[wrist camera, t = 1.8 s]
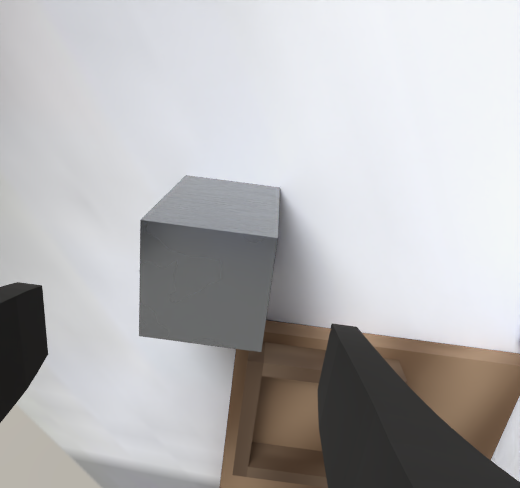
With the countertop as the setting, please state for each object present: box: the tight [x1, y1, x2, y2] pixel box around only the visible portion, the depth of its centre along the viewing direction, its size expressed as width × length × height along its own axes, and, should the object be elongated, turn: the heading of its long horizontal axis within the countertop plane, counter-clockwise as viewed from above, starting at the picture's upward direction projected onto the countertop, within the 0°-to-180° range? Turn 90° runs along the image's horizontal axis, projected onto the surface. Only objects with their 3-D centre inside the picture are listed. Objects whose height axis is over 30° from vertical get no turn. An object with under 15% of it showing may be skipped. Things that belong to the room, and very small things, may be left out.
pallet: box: [220, 320, 520, 488], centre depth 21 cm, size 14×15×3 cm
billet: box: [139, 175, 280, 352], centre depth 16 cm, size 4×4×6 cm
